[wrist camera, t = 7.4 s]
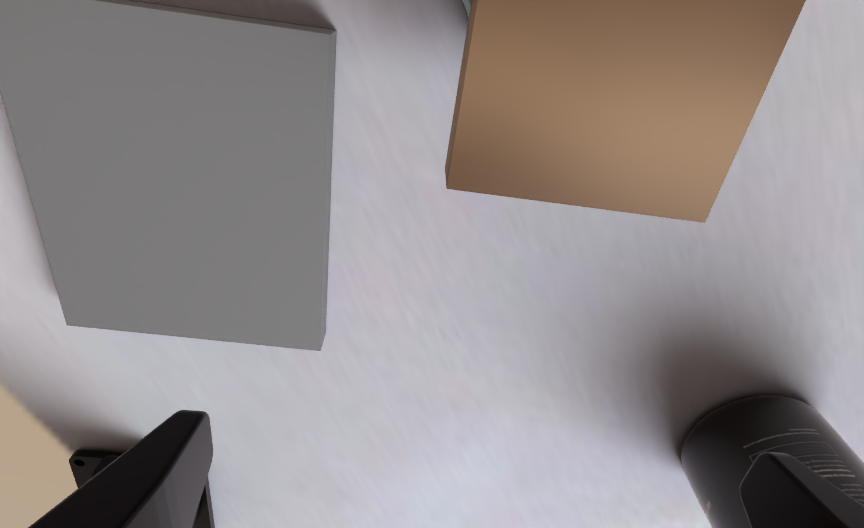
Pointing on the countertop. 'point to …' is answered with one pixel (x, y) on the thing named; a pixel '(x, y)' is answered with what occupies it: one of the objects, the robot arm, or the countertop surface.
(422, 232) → the countertop surface
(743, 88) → the walnut board
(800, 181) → the countertop surface
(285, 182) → the trivet
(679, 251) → the countertop surface
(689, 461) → the supplement bottle
